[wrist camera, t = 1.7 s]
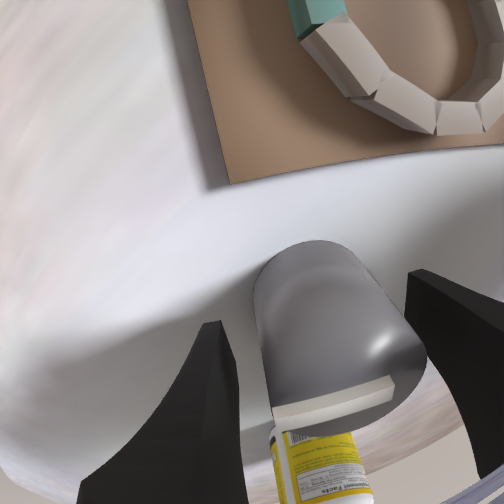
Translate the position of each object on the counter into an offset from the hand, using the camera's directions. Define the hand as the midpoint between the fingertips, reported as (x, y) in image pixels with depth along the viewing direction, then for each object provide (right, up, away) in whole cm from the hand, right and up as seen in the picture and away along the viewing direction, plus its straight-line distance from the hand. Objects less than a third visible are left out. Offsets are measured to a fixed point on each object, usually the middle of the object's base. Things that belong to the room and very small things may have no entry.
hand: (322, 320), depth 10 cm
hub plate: (+3, +11, -3) cm, 11 cm away
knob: (0, +1, +1) cm, 2 cm away
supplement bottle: (+1, -8, +6) cm, 10 cm away
